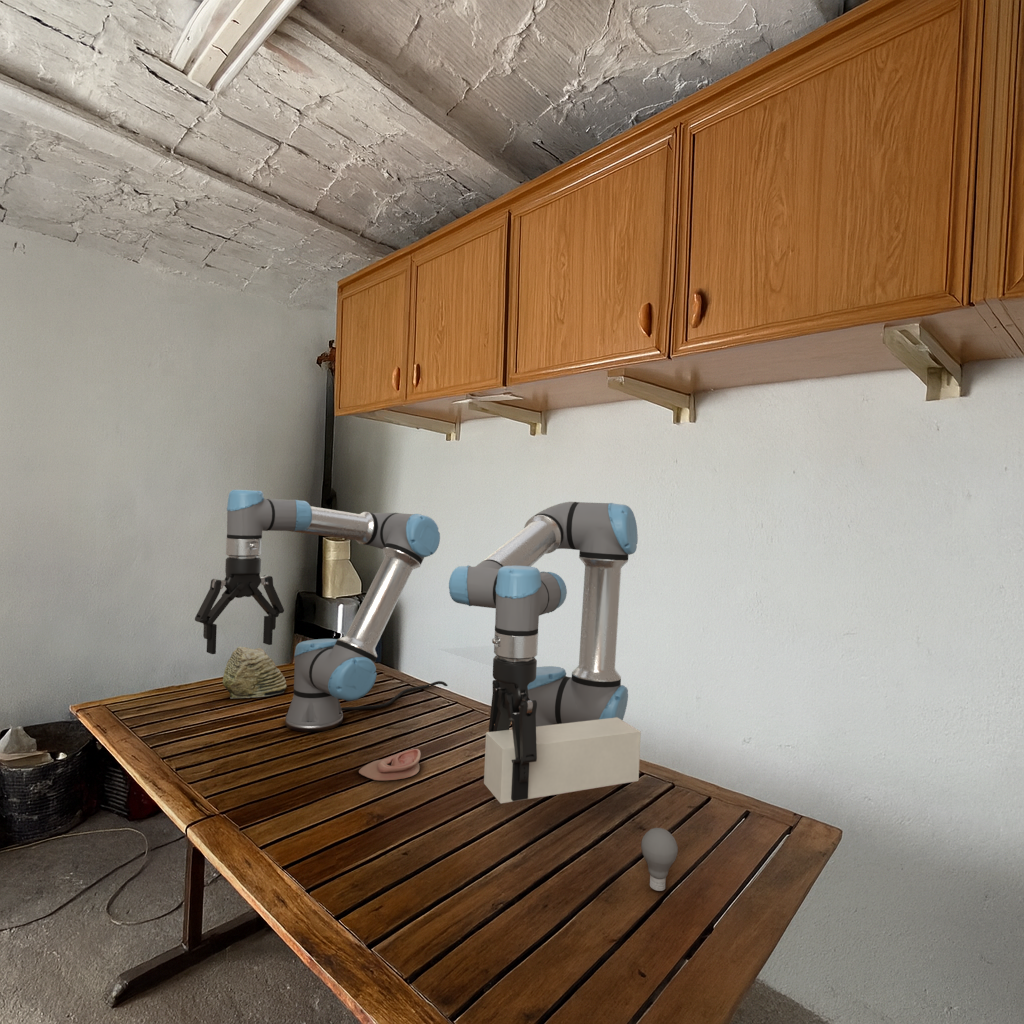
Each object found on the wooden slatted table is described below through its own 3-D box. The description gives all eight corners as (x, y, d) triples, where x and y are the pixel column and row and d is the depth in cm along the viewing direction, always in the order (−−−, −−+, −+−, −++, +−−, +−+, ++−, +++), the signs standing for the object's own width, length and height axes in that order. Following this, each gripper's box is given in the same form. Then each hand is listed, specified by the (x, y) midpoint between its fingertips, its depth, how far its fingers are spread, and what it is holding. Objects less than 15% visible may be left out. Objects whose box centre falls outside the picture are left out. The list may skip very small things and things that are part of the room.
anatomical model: (353, 759, 143) (374, 741, 154) (352, 777, 143) (373, 757, 154) (408, 767, 140) (426, 748, 152) (408, 785, 140) (425, 764, 152)
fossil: (218, 695, 195) (220, 647, 195) (278, 685, 208) (279, 640, 207) (228, 703, 189) (230, 653, 188) (289, 692, 201) (290, 645, 201)
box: (615, 763, 122) (617, 717, 122) (638, 781, 115) (640, 731, 115) (483, 783, 112) (485, 732, 111) (500, 803, 104) (502, 749, 104)
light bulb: (635, 878, 109) (637, 820, 109) (668, 878, 110) (671, 820, 109) (645, 900, 103) (648, 839, 103) (680, 900, 104) (683, 839, 103)
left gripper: (196, 560, 134) (193, 660, 134) (300, 555, 153) (297, 643, 154) (180, 557, 139) (177, 653, 139) (283, 553, 158) (280, 637, 158)
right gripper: (474, 643, 117) (468, 766, 117) (519, 674, 98) (513, 820, 98) (511, 641, 120) (506, 761, 120) (562, 670, 101) (556, 812, 101)
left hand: (240, 648), depth 146 cm, fingers open, 13 cm apart
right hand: (509, 787), depth 109 cm, fingers closed on box, 8 cm apart
